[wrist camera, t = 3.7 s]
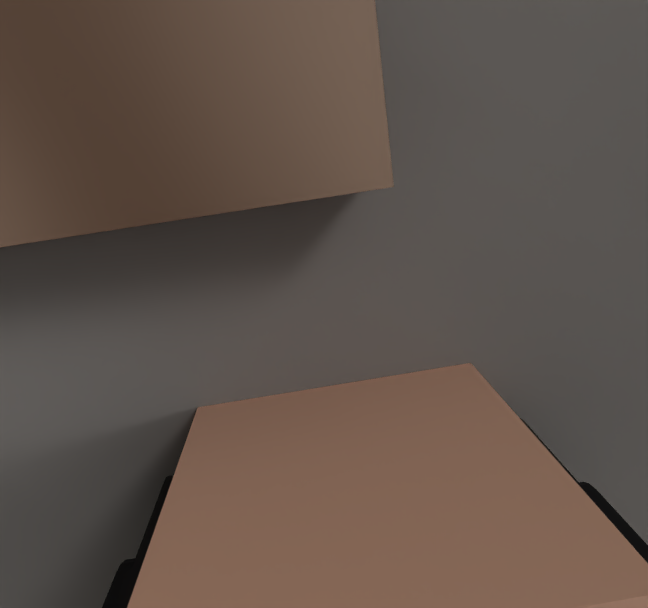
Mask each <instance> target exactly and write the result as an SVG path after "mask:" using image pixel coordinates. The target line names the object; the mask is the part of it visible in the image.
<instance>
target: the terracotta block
mask: <svg viewBox="0 0 648 608" xmlns="http://www.w3.org/2000/svg"><path fill="white" fill-rule="evenodd" d="M127 608H648V563H647V562H646V561H645V560H644V559H643V557H642V556H641V555H640V554H639V553H638V552H637V551H636V550H635V548H634V547H633V546H632V545H631V544H630V543H629V542H628V540H627V539H626V538H625V537H624V536H623V535H622V534H621V533H620V531H619V530H618V529H617V528H616V527H615V526H614V525H613V523H612V522H611V521H610V520H609V519H608V518H607V517H606V516H605V514H604V513H603V512H602V511H601V510H600V509H599V508H598V506H597V505H596V504H595V503H594V502H593V501H592V500H591V499H590V497H589V496H588V495H587V494H586V493H585V492H584V491H583V489H582V488H581V487H580V486H579V485H578V484H577V483H576V482H575V480H574V479H573V478H572V477H571V476H570V475H569V474H568V472H567V471H566V470H565V469H564V468H563V467H562V466H561V465H560V463H559V462H558V461H557V460H556V459H555V458H554V457H553V455H552V454H551V453H550V452H549V451H548V450H547V449H546V448H545V446H544V445H543V444H542V443H541V442H540V441H539V440H538V438H537V437H536V436H535V435H534V434H533V433H532V432H531V431H530V429H529V428H528V427H527V426H526V425H525V424H524V423H523V421H522V420H521V419H520V418H519V417H518V416H517V415H516V414H515V412H514V411H513V410H512V409H511V408H510V407H509V406H508V404H507V403H506V402H505V401H504V400H503V399H502V398H501V397H500V395H499V394H498V393H497V392H496V391H495V390H494V389H493V387H492V386H491V385H490V384H489V383H488V382H487V381H486V380H485V378H484V377H483V376H482V375H481V374H480V373H479V372H478V370H477V369H476V368H475V367H474V366H473V365H472V364H471V363H467V364H461V365H455V366H449V367H442V368H436V369H430V370H424V371H418V372H412V373H406V374H400V375H393V376H387V377H381V378H375V379H369V380H363V381H357V382H350V383H344V384H338V385H332V386H326V387H320V388H314V389H308V390H301V391H295V392H289V393H283V394H277V395H271V396H265V397H258V398H252V399H246V400H240V401H234V402H228V403H222V404H215V405H209V406H203V407H198V408H197V411H196V414H195V417H194V419H193V422H192V425H191V428H190V431H189V434H188V436H187V439H186V442H185V445H184V448H183V451H182V453H181V456H180V459H179V462H178V465H177V468H176V470H175V473H174V476H173V479H172V482H171V485H170V487H169V490H168V493H167V496H166V499H165V502H164V505H163V507H162V510H161V513H160V516H159V519H158V522H157V524H156V527H155V530H154V533H153V536H152V539H151V541H150V544H149V547H148V550H147V553H146V556H145V558H144V561H143V564H142V567H141V570H140V573H139V575H138V578H137V581H136V584H135V587H134V590H133V593H132V595H131V598H130V601H129V604H128V607H127Z"/></svg>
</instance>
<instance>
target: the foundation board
mask: <svg viewBox="0 0 648 608" xmlns="http://www.w3.org/2000/svg"><path fill="white" fill-rule="evenodd" d="M390 187H394V184H393V174H392V164H391V154H390V144H389V134H388V124H387V114H386V104H385V94H384V84H383V75H382V65H381V55H380V45H379V35H378V25H377V15H376V5H375V0H0V247H6V246H12V245H19V244H25V243H32V242H39V241H45V240H52V239H58V238H65V237H71V236H78V235H84V234H91V233H97V232H104V231H110V230H117V229H123V228H130V227H136V226H143V225H149V224H156V223H162V222H169V221H175V220H182V219H188V218H195V217H201V216H208V215H214V214H221V213H227V212H234V211H240V210H247V209H253V208H260V207H267V206H273V205H280V204H286V203H293V202H299V201H306V200H312V199H319V198H325V197H332V196H338V195H345V194H351V193H358V192H364V191H371V190H377V189H384V188H390Z"/></svg>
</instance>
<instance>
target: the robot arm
mask: <svg viewBox="0 0 648 608" xmlns="http://www.w3.org/2000/svg"><path fill="white" fill-rule="evenodd" d="M520 419H521V418H520ZM521 420H522V419H521ZM522 421H523V420H522ZM523 423H524V424H525V425H526V426H527V427H528V428H529V429H530V427H529V426H528V425H527V424H526V423H525V422H524V421H523ZM530 431H531V432H532V433H533V434H534V435H535V436H536V437H537V438H538V436H537V435H536V434H535V433H534V432H533V431H532V430H531V429H530ZM538 440H539V441H540V442H541V443H542V444H543V445H544V446H545V448H546V449H547V450H548V451H549V452H550V453H551V454H552V455H553V457H554V458H555V459H556V460H557V461H558V462H559V463H560V465H561V466H562V467H563V468H564V469H565V470H566V471H567V472H568V474H569V475H570V476H571V477H572V478H573V479H574V480H575V482H576V483H577V484H578V485H579V486H580V487H581V488H582V489H583V491H584V492H585V493H586V494H587V495H588V496H589V497H590V499H591V500H592V501H593V502H594V503H595V504H596V505H597V506H598V508H599V509H600V510H601V511H602V512H603V513H604V514H605V516H606V517H607V518H608V519H609V520H610V521H611V522H612V523H613V525H614V526H615V527H616V528H617V529H618V530H619V531H620V533H621V534H622V535H623V536H624V537H625V538H626V539H627V540H628V542H629V543H630V544H631V545H632V546H633V547H634V548H635V550H636V551H637V552H638V553H639V554H640V555H641V556H642V557H643V559H644V560H645V561H646V562H647V563H648V545H647V544H646V543H645V542H644V541H643V540H642V539H641V538H640V537H639V535H638V534H637V533H636V532H635V531H634V530H633V529H632V528H631V527H630V526H629V525H628V524H627V522H626V521H625V520H624V519H623V518H622V517H621V516H620V515H619V514H618V513H617V512H616V511H615V509H614V508H613V507H612V506H611V505H610V504H609V503H608V502H607V501H606V500H605V499H604V498H603V496H602V495H601V494H600V493H599V492H598V491H597V490H596V489H595V488H594V487H593V486H591V485H590V484H589V483H586V482H579V483H578V481H577V480H576V479H575V478H574V477H573V476H572V475H571V474H570V472H569V471H568V470H567V469H566V468H565V467H564V466H563V465H562V463H561V462H560V461H559V460H558V459H557V458H556V457H555V456H554V454H553V453H552V452H551V451H550V450H549V449H548V448H547V447H546V445H545V444H544V443H543V442H542V441H541V440H540V439H539V438H538ZM173 476H174V475H173ZM173 476H168V477H166V479H165V481H164V484H163V486H162V489H161V492H160V494H159V497H158V500H157V502H156V505H155V508H154V510H153V513H152V516H151V518H150V521H149V524H148V526H147V529H146V532H145V534H144V537H143V540H142V542H141V545H140V548H139V550H138V553H137V556H136V558H134V559H128V560H125V561H124V562H123V563H121V565H120V567H119V569H118V570H117V572H116V575H115V577H114V580H113V582H112V585H111V587H110V590H109V592H108V595H107V597H106V599H105V602H104V604H103V607H102V608H127V607H128V604H129V601H130V598H131V595H132V593H133V590H134V587H135V584H136V581H137V578H138V575H139V573H140V570H141V567H142V564H143V561H144V558H145V556H146V553H147V550H148V547H149V544H150V541H151V539H152V536H153V533H154V530H155V527H156V524H157V522H158V519H159V516H160V513H161V510H162V507H163V505H164V502H165V499H166V496H167V493H168V490H169V487H170V485H171V482H172V479H173Z"/></svg>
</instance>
